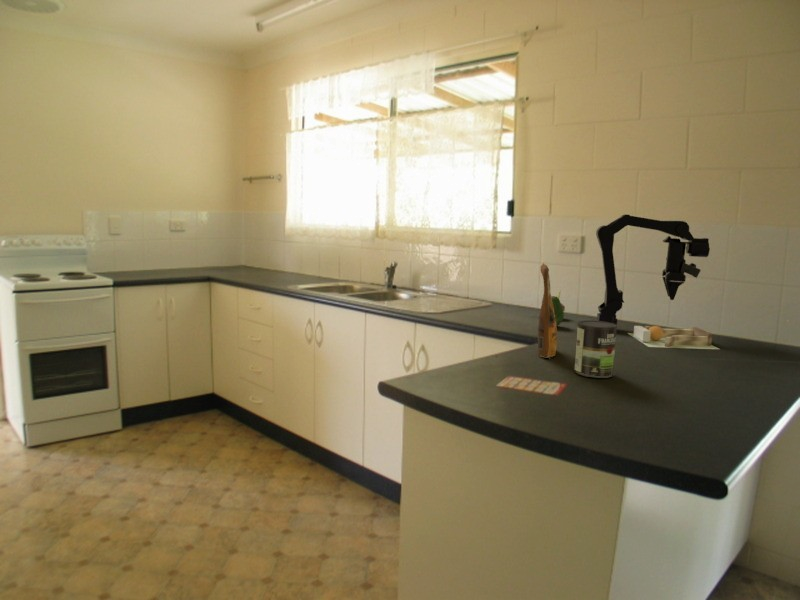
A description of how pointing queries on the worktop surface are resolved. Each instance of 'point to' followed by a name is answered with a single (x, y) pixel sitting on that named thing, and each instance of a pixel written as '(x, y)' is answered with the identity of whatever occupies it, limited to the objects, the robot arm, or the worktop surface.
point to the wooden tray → (686, 337)
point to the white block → (642, 333)
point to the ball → (656, 333)
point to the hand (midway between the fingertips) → (670, 298)
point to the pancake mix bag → (547, 320)
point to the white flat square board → (662, 344)
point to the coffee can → (595, 347)
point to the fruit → (557, 310)
